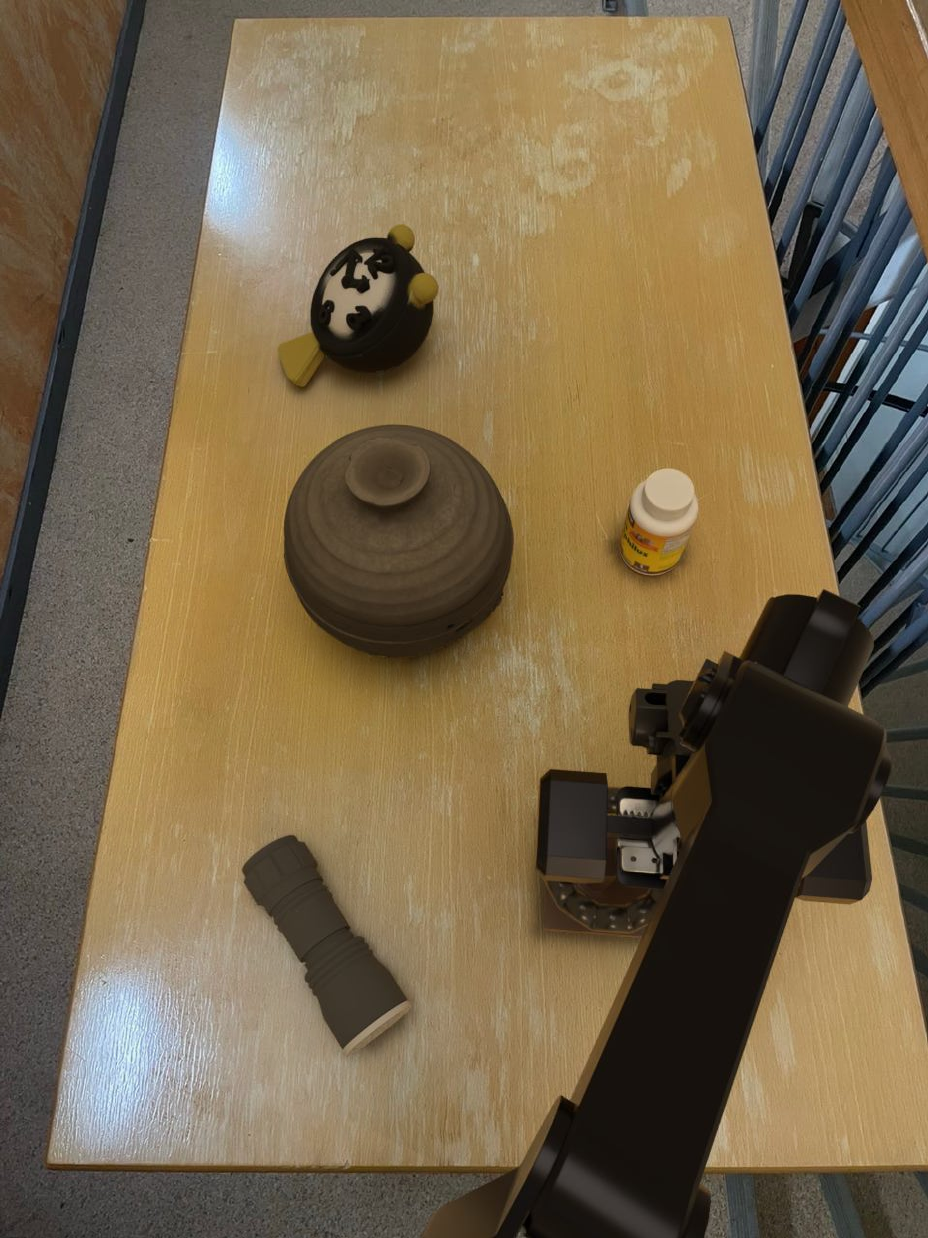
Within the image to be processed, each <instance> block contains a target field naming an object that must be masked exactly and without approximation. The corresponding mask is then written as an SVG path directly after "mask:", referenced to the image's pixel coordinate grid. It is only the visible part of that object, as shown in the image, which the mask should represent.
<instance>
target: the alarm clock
mask: <svg viewBox="0 0 928 1238" xmlns="http://www.w3.org/2000/svg"><path fill="white" fill-rule="evenodd" d="M415 243H416V236H415V234H414V231H413V230H412V229H411V228H410V227H409V226H407V225H406V224H404V223H403V224H396V225H394V226H393V227H391V228H390V230H389V231H388V233H387V235H386V237H374V236H373V237H366V238H363V239H360V240H357V241H355V242H352V243H351V244H349V245H348V246H346V247H345V248H343V249H341V251H339V252H338V253H337V254H336V256H334V258H332V259H331V261H330V262H329V263H328V264H327V265H326V267H325V269H324V270H323V272H322V273H321V275H320V277H319V279H318V282H317V284H316V287H315V289H314V292H313V295H312V298H311V304H310V311H309V314H310V315H309V318H310V331H311V332H309V333H307V334H303V335H301V336H298V337H295V338H293V339H290V340H287V341H284V342H282V343H280V344H279V345H278V346H277V354H278V357H279V360H280V362H281V365H282V367H283V371H284V373H285V375H286V377H287V379H288V380H289V381H290V382H291V383H292V384H293V385H295V386H298V387H301V388H304V387H306V386H307V384H308V383H309V381H310V380H311V378H312V377H313V376H314V374H315V372H316V371H317V369H318V367H319V366H320V364H321V363H322V361H323V360H324V358H325V357H327V358H328V359H329V360H330V361H332V362H334V364H337V365H339V366H340V367H342V368H344V369H347V370H350V371H353V372H358V373H369V374H375V373H382V372H385V371H389V370H392V369H394V368H397V367H399V366H401V365H402V364H404V363H405V362H407V361H408V360H409V359H411V358H412V357H413V356H414V355H415V354H416V353H417V352H418V351H419V349H420V348H421V347H422V346H423V344H424V342H425V340H426V339H427V337H428V335H429V332H430V330H431V326H432V324H433V318H434V300H435V299H436V298H437V296H438V294H439V287H440V286H439V283H438V281H437V279H436V278H435V277H434V276H433V275H432V274H430V273H427V272H425V270H424V268H423V267H422V265H421V263H420V262H419V261H418V259H416V258H415V256H414V255H412V253H411V251H412V250H413V249H414V246H415Z"/></svg>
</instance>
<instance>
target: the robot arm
mask: <svg viewBox="0 0 928 1238" xmlns="http://www.w3.org/2000/svg"><path fill="white" fill-rule="evenodd" d="M860 610H861V605H859V604H857V603H855V602H853V601H851V600H849V599H846V598H845V597H843V596H840V595H838V594H836V593H834V592H832V591H829V590H827V589H825V588H823V589H822V590H821V591H820V593H819V594H818V595H817V597H816V596H811V595H807V594H806V595H805V594H797V593H793V594H792V593H791V594H790V593H786V594H780V595H777V596H775V597H774V596H771V597H770V598H768V600H767V601H766V603H765V604H764V607H763V609H762V611H761V613H760V615H759V616H758V619H757V621H756V623H755V625H754V627H753V629H752V631H751V632H750V635H749V637H748V639H747V641H746V643H745V645H744V646H743V649H742V651H741V653H740V655H739V657H738V656H737V655H735V654H732V653H730V652H728V651H726V650H723V652H722V654H721V656H720V658H719V659H718V661H717V662H715V661H713V660H710V659H709V658H705V660H704V662H703V664H702V666H701V667H700V669H699V671H698V672H697V676H696V677H695V679H694V680H685V679H675V680H671V681H669V682H668V683H656V682H655V683H654V682H653V683H652V684H651V688H646V687H645V688H644V687H637V688H636V689H634V691H633V693H632V695H631V697H630V702H629V706H628V715H627V717H628V718H627V719H628V735H629V736H628V738H629V744H630V745H631V746H632V747H641V748H645V749H646V754H647V755H651V756H655V757H656V758H655V759H656V761H655V762H656V763H655V766H654V767H653V769H652V771H651V773H650V787H644V786H632V785H631V786H630V785H625V786H622V787H623V788H621V789H620V790H619V792H618V796H617V805H616V814H615V815H610V814H608V813H607V810H608V787H609V781H608V775H607V772H597V771H585V770H584V771H583V770H572V769H571V770H570V769H569V770H568V769H555V768H550V769H548V770H547V771H546V772H545V773H544V774H543V775H542V776H540V778H539V783H538V792H537V793H538V795H537V811H536V812H537V813H536V814H537V817H536V818H537V819H536V835H535V854H534V872H536V873H537V874H538V875H539V876H540V878H541V879H542V880H543V881H544V880H549V881H562V882H574V883H587V884H588V883H602V882H603V881H604V879H605V871H606V862H607V838H613V839H616V879H617V881H618V882H619V883H620V884H621V885H623V886H626V887H636V888H649V889H661V890H663V891H662V893H661V896H660V898H659V900H658V903H657V905H656V907H655V909H654V912H653V914H652V916H651V918H650V921H649V923H648V925H647V927H646V930H645V932H644V934H643V936H642V938H640V941H639V943H638V946H637V948H636V950H635V952H634V954H633V957H632V959H631V962H630V963H629V966H628V968H627V970H626V973H625V975H624V977H623V979H622V981H621V983H620V986H619V989H618V991H617V992H616V995H615V997H614V1000H613V1002H612V1004H611V1007H610V1008H609V1011H608V1013H607V1015H606V1018H605V1020H604V1023H603V1024H602V1027H601V1028H600V1031H599V1033H598V1036H597V1038H596V1040H595V1042H594V1045H593V1047H592V1049H591V1052H590V1054H589V1056H588V1058H587V1061H586V1063H585V1065H584V1067H583V1069H582V1072H581V1074H580V1076H579V1079H578V1081H577V1083H576V1084H575V1087H574V1090H573V1092H572V1094H571V1097H570V1099H568V1098H566V1097H565V1096H564V1095H562V1094H561V1095H559V1096H557V1098H556V1100H555V1101H554V1103H552V1106H551V1107H550V1109H549V1111H548V1112H547V1114H546V1116H545V1118H544V1119H543V1121H542V1124H541V1125H540V1127H539V1129H538V1131H537V1132H536V1135H535V1136H534V1139H533V1140H532V1142H531V1144H530V1146H529V1148H528V1149H527V1151H526V1154H525V1156H523V1157H524V1158H523V1159H522V1160H521V1163H520V1164H519V1165H518V1166H517V1167H516V1168H513V1169H511V1170H509V1171H508V1172H506V1173H504V1174H502V1175H500V1176H498V1177H496V1178H494V1179H493V1180H490V1181H489V1182H486V1183H484V1184H482V1185H481V1186H478V1187H477V1188H475V1189H473V1190H471V1191H469V1192H466V1193H465V1194H464V1195H461V1196H460V1197H457V1198H456V1199H454V1200H452V1201H450V1202H447V1203H445V1204H444V1205H442V1206H440V1207H439V1208H438V1209H436V1210H435V1212H434V1213H432V1214H431V1216H430V1218H429V1219H428V1221H427V1223H426V1226H424V1229H423V1231H422V1233H421V1235H420V1237H419V1238H518V1235H519V1233H520V1231H521V1233H522V1236H524V1237H525V1238H705V1236H706V1232H707V1228H708V1225H709V1220H710V1216H711V1215H710V1214H711V1206H712V1197H711V1193H710V1189H709V1188H707V1187H706V1186H704V1185H702V1184H701V1183H702V1180H703V1176H704V1173H705V1169H706V1167H707V1164H708V1161H709V1158H710V1154H711V1152H712V1149H713V1146H714V1143H715V1141H716V1137H717V1134H718V1132H719V1127H720V1125H721V1122H722V1118H723V1116H724V1112H725V1110H726V1107H727V1104H728V1100H729V1098H730V1095H731V1092H732V1089H733V1086H734V1083H735V1079H736V1077H737V1073H738V1070H739V1067H740V1064H741V1062H742V1059H743V1056H744V1052H745V1050H746V1047H747V1044H748V1041H749V1038H750V1034H751V1031H752V1028H753V1026H754V1022H755V1020H756V1017H757V1013H758V1011H759V1007H760V1005H761V1001H762V998H763V996H764V992H765V989H766V987H767V983H768V981H769V977H770V974H771V971H772V968H773V965H774V963H775V959H776V956H777V953H778V950H779V947H780V944H781V942H782V938H783V935H784V932H785V929H786V926H787V923H788V920H789V917H790V914H791V911H792V909H793V905H794V902H795V899H797V900H801V901H804V902H810V903H811V902H813V903H824V904H826V903H827V904H838V905H847V906H848V905H849V906H850V905H853V904H855V903H858V902H861V901H863V900H864V898H865V897H866V896H867V895H868V894H869V892H870V890H871V887H872V882H873V873H872V862H871V853H870V841H869V833H868V824H867V821H868V819H869V817H870V816H871V815H872V813H873V811H874V810H875V808H876V806H877V804H878V802H879V801H880V799H881V797H882V795H883V792H884V790H885V788H886V786H887V783H888V780H889V778H890V775H891V771H892V767H893V763H892V762H893V761H892V757H891V754H890V751H889V749H888V748H887V739H888V738H887V737H888V736H887V733H888V732H887V731H886V727H885V726H884V725H881V724H880V723H878V722H877V720H875V719H873V718H871V717H869V716H867V715H865V714H863V713H861V712H859V711H857V710H855V709H852V707H851V708H850V707H849V705H850V703H851V700H852V698H853V696H854V693H855V692H856V690H857V687H858V684H859V682H860V680H861V677H862V675H863V673H864V671H865V668H866V666H867V664H868V661H869V659H870V657H871V654H872V652H873V651H874V648H875V643H874V642H875V641H874V637H873V635H872V633H871V631H870V630H869V628H868V627H867V625H866V624H865V623H864V622H862V621H861V619H859V618H858V617H857V616H858V614H859V611H860ZM666 879H668V880H667V882H666Z"/></svg>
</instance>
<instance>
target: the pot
mask: <svg viewBox="0 0 928 1238" xmlns="http://www.w3.org/2000/svg"><path fill="white" fill-rule="evenodd" d="M283 520H284V521H283V537H284V539H283V558H284V559H283V560H284V567H285V570H286V574H287V576H288V579H289V582H290V585H291V586H292V588H293V589H294V592H295V594H296V597H297V598H298V601H299V602H300V604H301V606H302V608H304V610H305V612H306V614H307V615H308V616H309V617H310V619H311V620H312V621H313V622H314V623H315V624H316V625H317V626H318V627H319V628H321V630H323V631H324V632H326V633H327V634H328V635H329V636H332V637H333V638H334V639H336V640H338V642H340V643H342V644H344V645H345V646H347V647H350V648H352V649H354V650H355V651H357V652H361V653H365V654H367V655H369V656H376V657H384V658H388V659H400V658H414V657H418V656H423V655H427V654H429V653H432V652H435V651H439V650H441V649H442V648H447V647H448V646H451V645H452V644H454V643H457V642H458V641H460V640H461V639H464V637H466V636H467V635H468V634H470V633H471V632H473V631H474V630H475V629H477V628H479V627H480V626H481V625H482V624H484V623H486V621H487V620H488V619H489V618H490V616H491V615H492V614H493V613H494V612H495V611H496V608H497V607H499V606H500V605H501V603H502V601H503V597H504V590H505V589H504V588H505V586H506V583H507V581H508V579H509V575H510V571H511V566H512V560H513V559H512V558H513V555H514V554H513V553H514V544H515V539H514V537H515V536H514V529H513V524H512V519H511V515H510V512H509V509H508V506H507V503H506V501H505V499H504V498H503V496H502V494H501V491H500V489H499V488H498V485H497V483H496V482H495V480H494V478H493V476H492V475H491V474H490V472H488V470H487V469H486V468H485V466H484V465H483V464H482V463H481V462H480V461H479V460H478V459H477V458H476V457H475V456H474V455H473V454H472V453H471V452H470V451H468V450H467V449H466V448H465V447H463V446H462V445H461V444H459V443H458V442H456V441H454V440H452V439H451V438H449V437H447V436H445V435H443V434H441V433H438V432H436V431H434V430H430V429H426V428H424V427H420V426H419V427H418V426H415V425H410V424H409V425H407V424H395V423H394V424H379V425H373V426H369V427H364V428H361V429H357V430H355V431H352V432H350V433H347V434H345V435H343V436H341V437H339V438H337V439H336V440H334V441H332V442H331V443H330V444H328V445H327V446H326V447H324V448H323V449H322V450H320V452H318V453H317V454H316V455H315V456H314V457H313V458H312V459H311V460H310V462H309V463H308V464H307V465H306V467H304V469H303V470H302V472H301V473H300V474H299V476H298V478H297V479H296V482H295V484H294V486H293V487H292V490H291V493H290V495H289V498H288V501H287V505H286V508H285V513H284V519H283Z"/></svg>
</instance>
